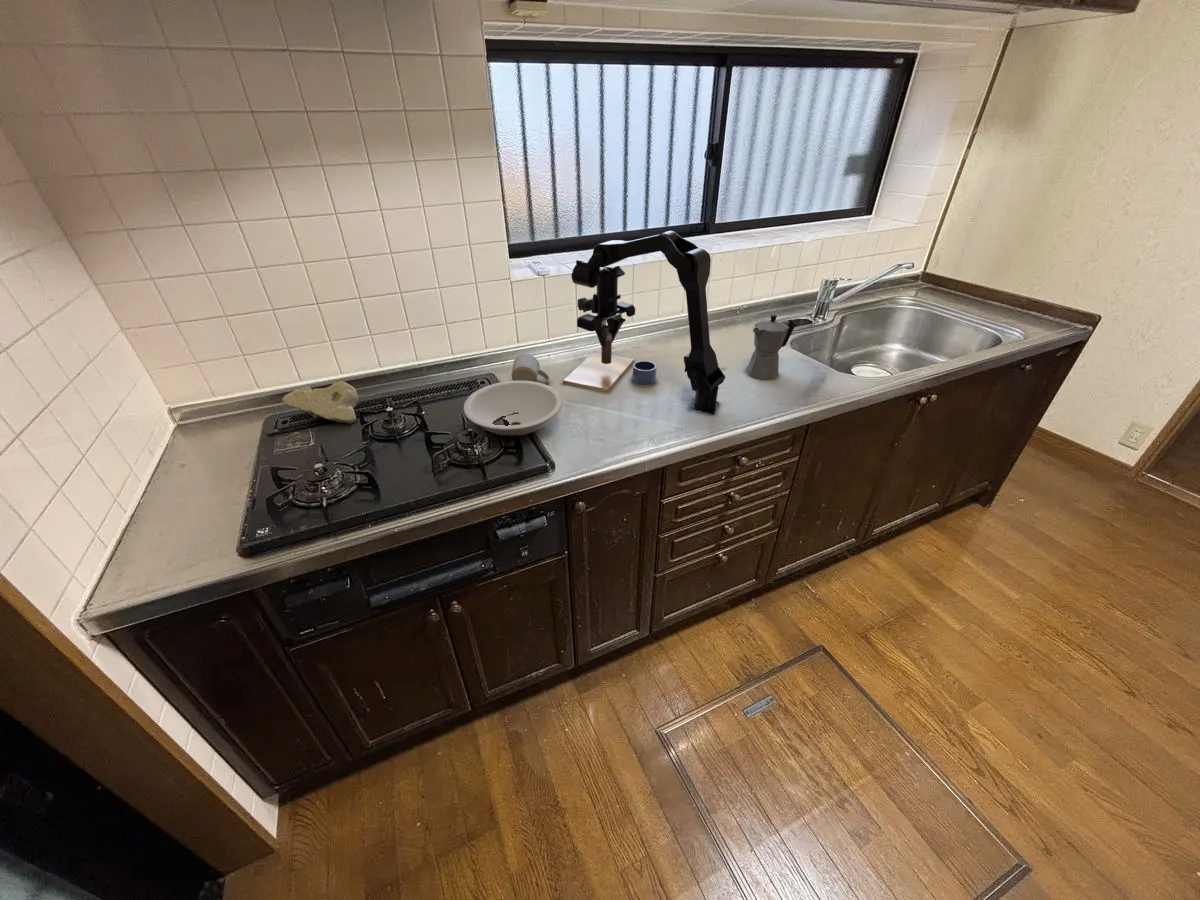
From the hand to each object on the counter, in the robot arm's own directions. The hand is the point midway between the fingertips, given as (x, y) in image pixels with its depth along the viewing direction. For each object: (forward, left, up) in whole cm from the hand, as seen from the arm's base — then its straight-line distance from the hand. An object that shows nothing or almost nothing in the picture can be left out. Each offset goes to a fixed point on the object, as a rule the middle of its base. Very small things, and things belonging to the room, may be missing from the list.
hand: (606, 344), depth 145 cm
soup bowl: (-36, +10, -10) cm, 39 cm away
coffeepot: (+20, -44, -10) cm, 49 cm away
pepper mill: (0, 0, -6) cm, 6 cm away
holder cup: (0, -12, -10) cm, 15 cm away
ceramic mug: (-14, +18, -10) cm, 25 cm away
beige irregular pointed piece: (-53, +56, -10) cm, 78 cm away
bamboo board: (0, +2, -10) cm, 10 cm away
